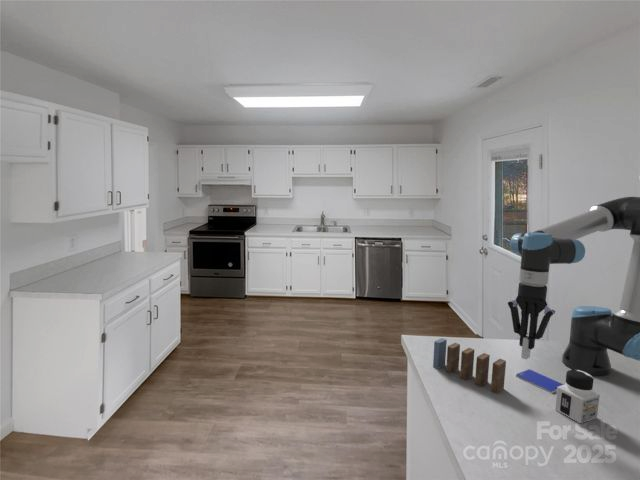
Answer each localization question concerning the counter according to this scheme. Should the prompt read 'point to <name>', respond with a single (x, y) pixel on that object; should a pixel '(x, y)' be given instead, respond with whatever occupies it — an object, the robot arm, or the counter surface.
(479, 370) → the domino
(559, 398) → the container
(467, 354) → the domino
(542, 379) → the hard drive
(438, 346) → the end domino
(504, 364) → the domino
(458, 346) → the domino
